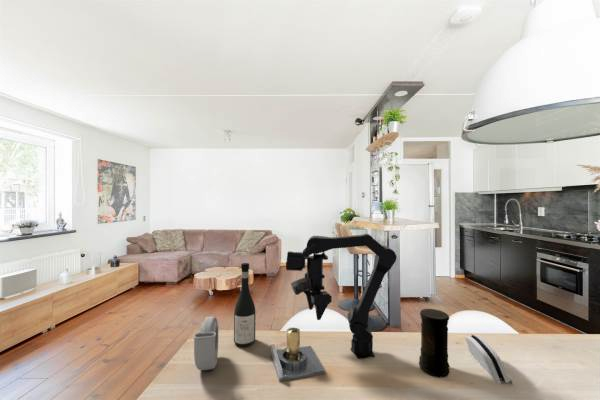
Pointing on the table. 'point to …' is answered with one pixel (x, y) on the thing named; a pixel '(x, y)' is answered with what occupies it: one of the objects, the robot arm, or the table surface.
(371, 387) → the table surface
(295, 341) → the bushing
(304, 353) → the jig
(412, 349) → the table surface
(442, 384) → the table surface
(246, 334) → the wine bottle
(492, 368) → the grey curved piece
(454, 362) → the table surface
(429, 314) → the container
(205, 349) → the grey curved holder
